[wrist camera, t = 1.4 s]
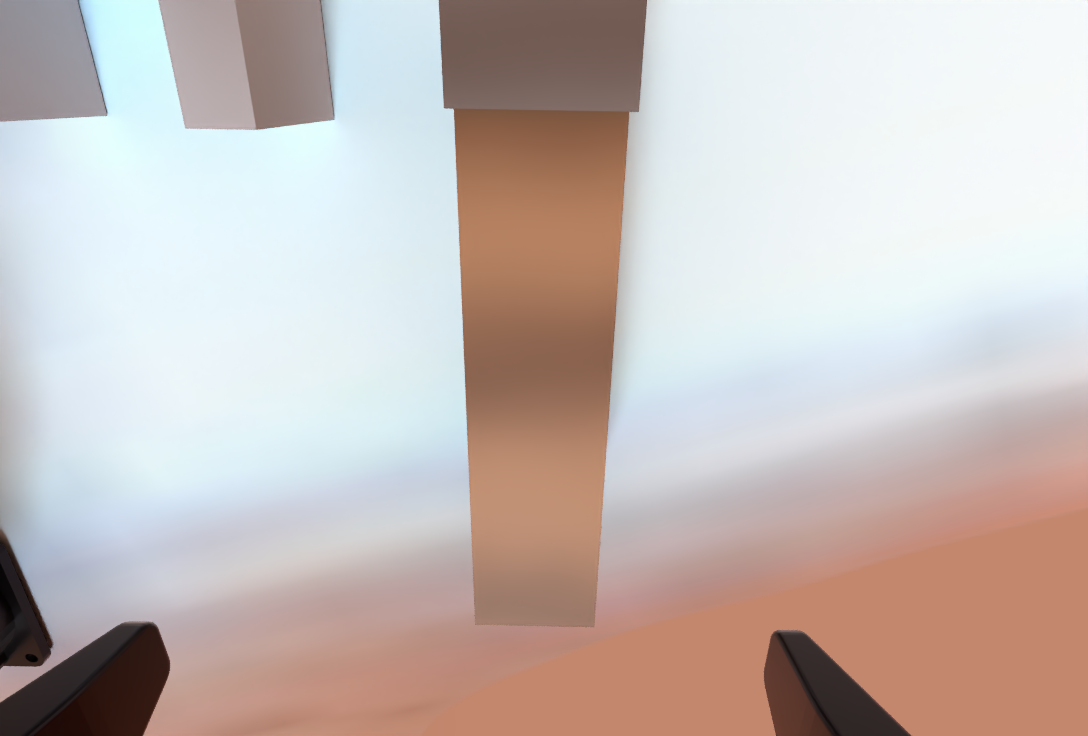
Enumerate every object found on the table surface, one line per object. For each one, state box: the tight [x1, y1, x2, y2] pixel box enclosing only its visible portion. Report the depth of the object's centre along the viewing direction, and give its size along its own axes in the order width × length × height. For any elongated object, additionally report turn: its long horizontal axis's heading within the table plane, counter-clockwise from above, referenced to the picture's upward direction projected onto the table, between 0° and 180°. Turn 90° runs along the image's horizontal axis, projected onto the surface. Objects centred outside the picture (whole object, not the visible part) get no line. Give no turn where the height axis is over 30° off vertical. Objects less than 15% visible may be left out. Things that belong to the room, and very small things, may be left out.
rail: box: [439, 0, 647, 627], centre depth 17 cm, size 16×4×6 cm, turn 179°
